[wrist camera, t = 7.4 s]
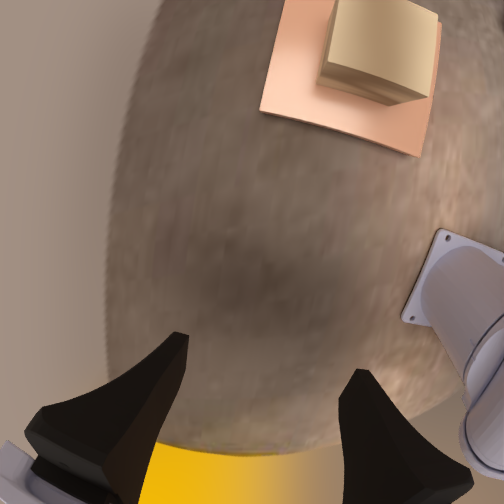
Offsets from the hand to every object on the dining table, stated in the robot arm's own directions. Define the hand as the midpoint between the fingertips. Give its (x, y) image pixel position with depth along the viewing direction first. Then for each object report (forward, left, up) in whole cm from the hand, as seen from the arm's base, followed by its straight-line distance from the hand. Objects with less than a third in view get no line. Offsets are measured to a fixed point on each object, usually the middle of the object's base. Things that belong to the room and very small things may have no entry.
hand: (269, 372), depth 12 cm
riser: (-2, -15, -10) cm, 18 cm away
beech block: (-2, -15, -8) cm, 17 cm away
